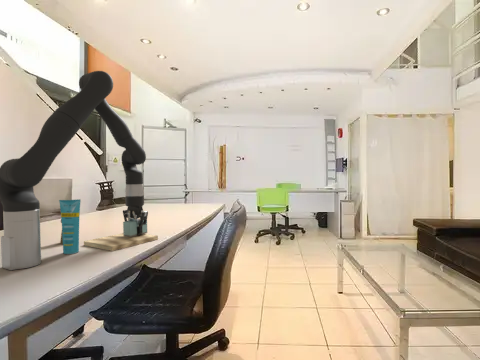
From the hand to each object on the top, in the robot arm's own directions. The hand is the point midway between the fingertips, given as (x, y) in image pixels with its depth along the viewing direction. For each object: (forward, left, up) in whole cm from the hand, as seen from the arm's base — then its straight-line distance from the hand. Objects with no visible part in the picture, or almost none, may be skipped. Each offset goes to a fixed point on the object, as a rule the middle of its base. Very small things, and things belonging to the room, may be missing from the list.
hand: (135, 234), depth 131 cm
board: (-7, 0, -2) cm, 7 cm away
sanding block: (0, 0, 0) cm, 0 cm away
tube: (-27, +2, -2) cm, 27 cm away
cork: (-18, +20, -2) cm, 27 cm away
